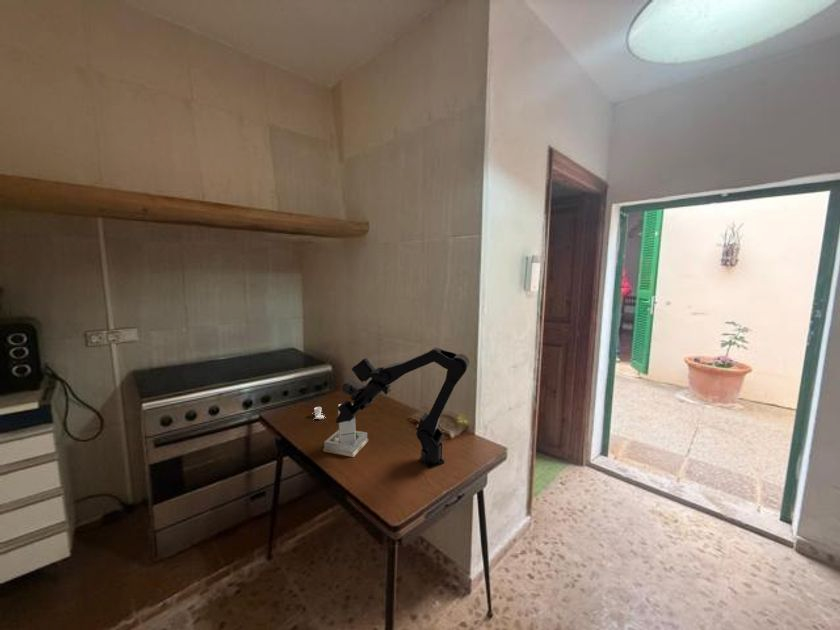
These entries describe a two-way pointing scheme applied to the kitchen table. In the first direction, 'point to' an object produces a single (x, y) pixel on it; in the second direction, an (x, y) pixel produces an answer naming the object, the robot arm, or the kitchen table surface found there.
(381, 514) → the kitchen table surface
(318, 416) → the white ring and cylinder
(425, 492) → the kitchen table surface
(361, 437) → the white square tray
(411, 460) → the kitchen table surface
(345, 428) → the syrup box
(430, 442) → the robot arm
